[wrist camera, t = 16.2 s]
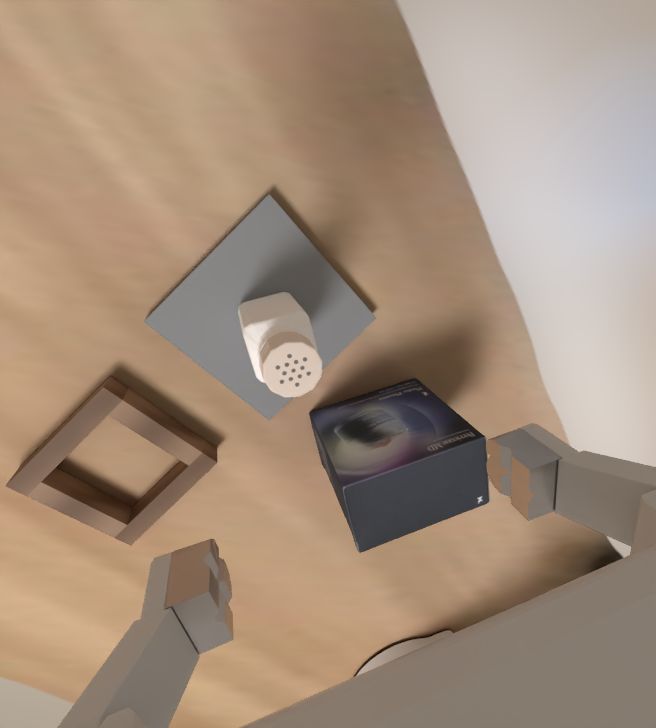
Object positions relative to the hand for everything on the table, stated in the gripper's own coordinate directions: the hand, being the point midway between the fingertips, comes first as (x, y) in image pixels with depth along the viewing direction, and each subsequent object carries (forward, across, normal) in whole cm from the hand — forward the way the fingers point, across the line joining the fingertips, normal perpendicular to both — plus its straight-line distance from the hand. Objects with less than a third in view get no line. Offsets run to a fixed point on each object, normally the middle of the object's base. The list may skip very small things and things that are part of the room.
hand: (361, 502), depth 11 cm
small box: (+21, -6, +12) cm, 25 cm away
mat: (+21, 0, 0) cm, 21 cm away
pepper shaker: (+20, 0, 0) cm, 20 cm away
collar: (+21, +14, +8) cm, 26 cm away
